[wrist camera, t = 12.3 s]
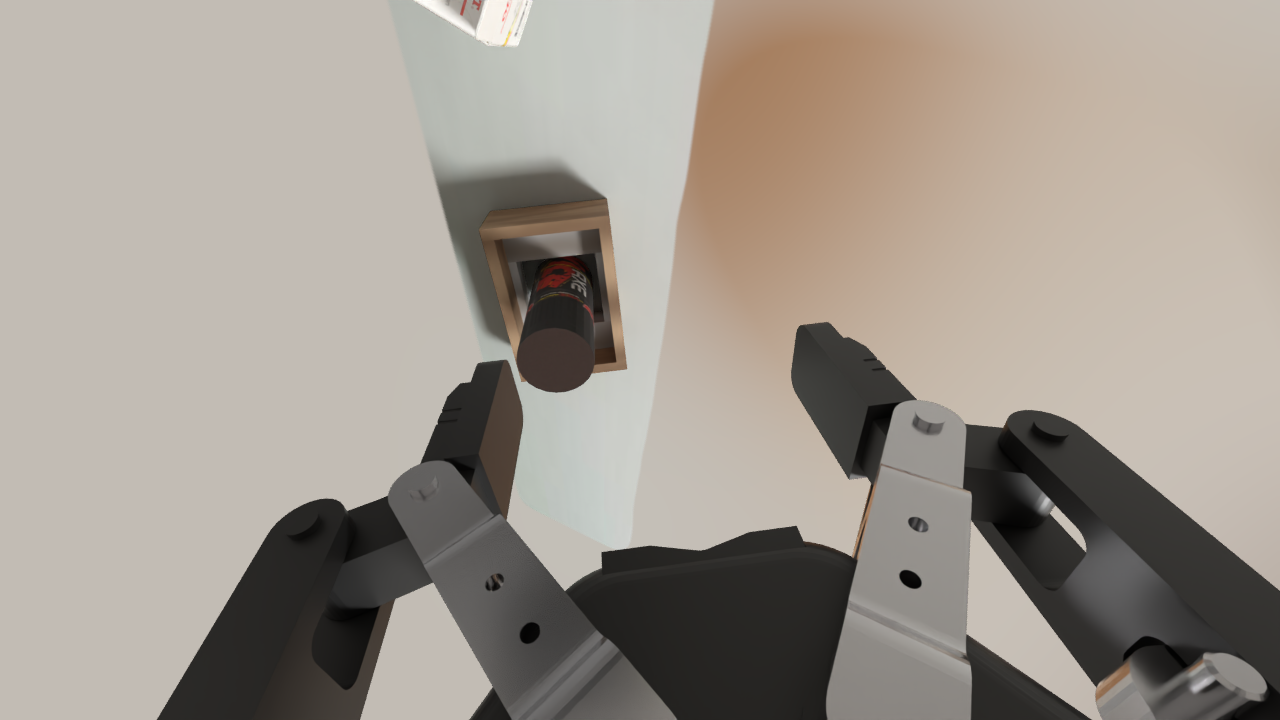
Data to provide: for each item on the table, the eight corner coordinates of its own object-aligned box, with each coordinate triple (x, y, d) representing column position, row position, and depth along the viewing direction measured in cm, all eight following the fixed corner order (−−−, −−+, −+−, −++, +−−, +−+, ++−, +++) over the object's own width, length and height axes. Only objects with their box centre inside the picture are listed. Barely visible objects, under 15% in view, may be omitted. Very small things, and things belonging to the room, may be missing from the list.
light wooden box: (490, 211, 43) (478, 229, 38) (606, 198, 43) (609, 215, 39) (527, 353, 52) (521, 381, 47) (623, 341, 52) (627, 369, 48)
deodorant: (529, 298, 48) (509, 383, 36) (542, 246, 45) (525, 318, 33) (583, 313, 50) (582, 399, 37) (599, 264, 47) (604, 339, 34)
